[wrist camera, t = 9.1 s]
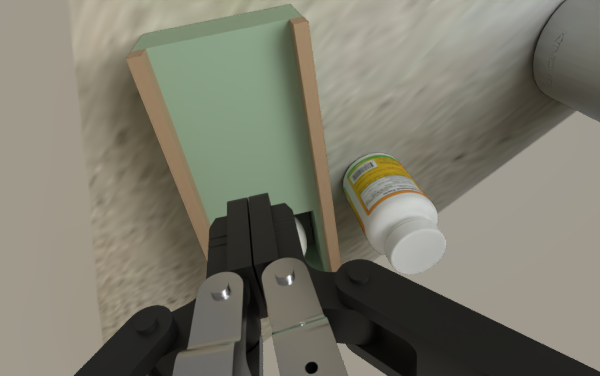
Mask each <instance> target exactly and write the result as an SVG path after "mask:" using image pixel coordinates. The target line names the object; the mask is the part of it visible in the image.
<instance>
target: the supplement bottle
mask: <svg viewBox="0 0 600 376" xmlns="http://www.w3.org/2000/svg"><path fill="white" fill-rule="evenodd" d="M343 189H344V193H345V195H346V197H347V199H348V201H349V203H350V205H351V207H352V209H353V211H354V213H355V215H356V217H357V219H358V221H359V223H360V225H361V227H362V230H363V232H364V234H365V236H366V238H367V240H368V241H369V243H370V245H371V246H372V247H373V248H374V249H375V250H376V251H377V252H379V253H381V254H383V255H386V257H387V258H388V260H389V261H390V263H391V265H392V267H393V268H394V269H395V270H396V271H398V272H400V273H403V274H417V273H421V272H423V271H426V270H428V269H430V268H431V267H433V266H434V265H435V264H436V263H438V261H440V259H441V258H442V257H443V255H444V253H445V250H446V239H445V237H444V235H443V234H442V233H441V231H440V230H439V228H438V227H437V225H438V214H437V211H436V209H435V207H434V205H433V204H432V202H431V201H430V200H429V199H428V197H427V196H426V195H425V194H424V192H423V191H422V190H421V189H420V187H419V186H418V185H417V184H416V182H415V181H414V180H413V179H412V177H411V176H410V175H409V174H408V172H407V171H406V170H405V169H404V167H403V166H402V165H401V164H400V163H399V162H398V161H397V160H396V159H395V158H394V157H392V156H390V155H388V154H384V153H372V154H368V155H366V156H363V157H361V158H359V159H358V160H356V161H355V162H354V163H353V164H352V165H351V166H350V167H349V169H348V170H347V172H346V174H345V176H344V180H343Z"/></svg>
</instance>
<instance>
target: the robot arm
mask: <svg viewBox="0 0 600 376" xmlns="http://www.w3.org/2000/svg"><path fill="white" fill-rule="evenodd" d="M533 71H534V78H535V81H536V83H537V85H538V87H539V88H540V89H541V91H542V92H543V93H544V94H546V95H547V96H549V97H551V98H553V99H555V100H557V101H559V102H561V103H563V104H565V105H567V106H569V107H571V108H573V109H575V110H577V111H579V112H581V113H583V114H585V115H587V116H588V117H590V118H592V119H595V120H597V121H599V122H600V0H566V1H565V2H564V3H563V4H562V5H561V6H560V7H559V8H558V9H557V11H556V12H555V13H554V14H553V15H552V17H551V18H550V20H549V21H548V23H547V24H546V26H545V28H544V29H543V31H542V34H541V36H540V38H539V40H538V42H537V46H536V50H535V53H534V61H533ZM248 200H249V201H248ZM208 248H209V249H208V260H207V279H206V280H205V281H204V282H203V283H202V284H201V286H200V287H199V289H198V292H197V297H196V298H195V299H194V300H193V301H191V302H190V303H188V304H186V305H185V306H183V307H181V308H179V309H177V310H175V311H173V312H171V311H170V310H169V309H168V308H166V307H164V306H160V305H155V306H150V307H147V308H144V309H142V310H140V311H139V312H137V313H136V314H134V315H133V316H132V317H131V318H130V319H129V320H128V321H127V322H126V323H125V324H124V325H123V326H122V327H121V328H120V329H119V330H118V331H117V332H116V333H115V334H114V335H113V336H112V337H111V338H110V339H109V340H108V341H107V342H106V343H105V344H104V345H103V346H102V347H101V349H100V350H99V351H98V352H97V353H96V354H95V355H94V356H93V357H92V358H91V359H90V360H89V361H88V362H87V363H86V364H85V365H84V366H83V367H82V368H81V369H80V370H79V371H78V372H77V373H76V374H75V375H74V376H146V375H147V376H263V338H262V335H261V321H260V319H262V318H266V317H268V312H269V317H270V321H271V326H272V331H273V333H272V338H273V343H274V348H275V353H276V358H277V363H278V368H279V372H280V376H348V374H347V371H346V368H345V365H344V362H343V360H342V357H341V354H340V351H339V349H338V346H337V343H345V344H346V345H347V347H348V348H349V349H350V350H351V351H352V352H353V353H355V354H357V355H358V356H359V357H361V358H362V359H364V360H365V361H367V362H368V363H370V364H371V365H373V366H374V367H376V368H377V369H378V370H380V371H381V372H383V373H385V374H386V375H387V376H600V372H599V371H597V370H595V369H593V368H591V367H589V366H587V365H585V364H583V363H581V362H579V361H577V360H575V359H573V358H570V357H568V356H566V355H564V354H562V353H560V352H558V351H556V350H554V349H552V348H550V347H548V346H546V345H544V344H541V343H539V342H537V341H535V340H533V339H531V338H529V337H527V336H525V335H523V334H521V333H519V332H517V331H515V330H512V329H510V328H508V327H506V326H504V325H502V324H500V323H498V322H496V321H494V320H492V319H490V318H488V317H486V316H484V315H481V314H479V313H477V312H475V311H473V310H471V309H469V308H467V307H465V306H463V305H461V304H458V303H457V302H454V301H452V300H450V299H448V298H446V297H444V296H442V295H440V294H438V293H436V292H433V291H432V290H430V289H428V288H426V287H423V286H421V285H419V284H417V283H415V282H413V281H411V280H409V279H407V278H405V277H403V276H401V275H398V274H397V273H395V272H392V271H390V270H388V269H386V268H384V267H382V266H380V265H378V264H376V263H374V262H372V261H369V260H363V259H357V260H352V261H349V262H346V263H344V264H343V265H342V266H340V267H339V269H338V270H337V272H325V271H319V270H316V269H314V268H312V267H311V266H309V265H308V264H307V262H306V261H305V258H304V255H303V251H302V247H301V242H300V238H299V234H298V230H297V226H296V222H295V218H294V214H293V210H292V209H291V208H290V207H289V206H288V205H287V204H286V203H281V204H276V205H272V206H271V202H270V198H269V194H268V192H267V193H263V194H258V195H254V196H249V197H248V198H247V197H245V198H241V199H236V200H232V201H227V216H223V217H219V218H215V220H214V222H213V223H212V225H211V226H210V228H209V242H208ZM267 308H268V312H267Z"/></svg>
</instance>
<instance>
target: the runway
mask: <svg viewBox="0 0 600 376" xmlns="http://www.w3.org/2000/svg"><path fill="white" fill-rule="evenodd" d="M126 61H127V64H128V66H129V69H130V71H131V74H132V76H133V79H134V81H135V84H136V86H137V89H138V91H139V94H140V96H141V99H142V101H143V104H144V106H145V108H146V111H147V113H148V116H149V118H150V121H151V123H152V126H153V128H154V131H155V133H156V136H157V138H158V141H159V143H160V146H161V148H162V151H163V153H164V156H165V158H166V161H167V163H168V166H169V168H170V171H171V173H172V176H173V178H174V181H175V183H176V186H177V188H178V191H179V193H180V196H181V198H182V201H183V203H184V206H185V208H186V211H187V213H188V215H189V218H190V220H191V223H192V225H193V228H194V230H195V233H196V235H197V238H198V240H199V243H200V245H201V248H202V250H203V253H204V255H205V258H206V260H208V249H209V248H208V242H209V228H210V226H211V225H212V223H213V222H214V220H215V218H219V217H223V216H227V201H232V200H236V199H241V198H245V197H247V198H248V197H249V196H254V195H258V194H263V193H267V192H268V194H269V198H270V202H271V206H272V205H276V204H281V203H286V204H287V205H288V206H289V207H290V208H291V209H292V210H293V214H294V216H295V217H296V218H297V219H298V220H299V221H300V223H301V224H302V226H303V228H304V231H305V234H306V238H307V249H306V253H305V257H304V258H305V261H306V262H307V264H308V265H309V266H311V267H312V268H314V269H316V270H319V271H325V272H337V270H338V269H339V267H340V266H341V259H340V252H339V244H338V237H337V230H336V222H335V215H334V207H333V200H332V193H331V185H330V178H329V170H328V163H327V156H326V148H325V141H324V133H323V126H322V119H321V111H320V104H319V96H318V89H317V82H316V74H315V67H314V59H313V52H312V45H311V37H310V30H309V22H308V21H307V20H306V19H305V18H304V17H303V16H302V15H301V14H300V13H299V12H298V11H297V10H296V9H295V8H294V7H293V6H292V5H291V4H289V5H284V6H279V7H274V8H269V9H264V10H259V11H254V12H249V13H244V14H239V15H234V16H230V17H225V18H220V19H215V20H210V21H205V22H200V23H195V24H190V25H185V26H180V27H175V28H170V29H165V30H160V31H155V32H151V33H146V34H143V35H142V37H141V38H140V39H139V41H138V42H137V44H136V45H135V47H134V48H133V49H132V51H131V52H130V54H129V55H128V56H127V58H126ZM248 201H249V200H248ZM308 211H309V213H310V218H309V213H308ZM310 219H311V224H312V229H311V224H310ZM312 230H313V235H312ZM313 236H314V240H313ZM314 241H315V242H314ZM267 312H268V308H267ZM268 317H269V312H268Z"/></svg>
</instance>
